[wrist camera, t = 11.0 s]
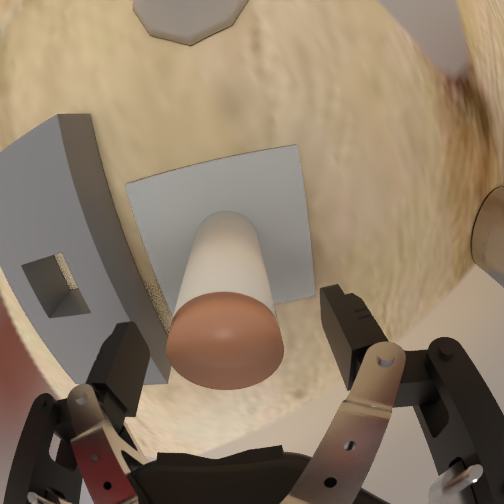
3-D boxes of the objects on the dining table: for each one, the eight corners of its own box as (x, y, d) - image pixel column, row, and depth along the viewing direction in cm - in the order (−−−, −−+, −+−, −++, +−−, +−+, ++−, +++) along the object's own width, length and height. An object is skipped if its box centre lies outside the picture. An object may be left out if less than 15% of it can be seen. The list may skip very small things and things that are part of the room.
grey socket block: (90, 113, 14) (57, 114, 10) (174, 348, 23) (167, 383, 19) (2, 165, 14) (-30, 177, 10) (88, 355, 23) (75, 384, 19)
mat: (295, 144, 16) (297, 145, 15) (313, 291, 21) (315, 295, 20) (127, 183, 16) (124, 185, 16) (176, 317, 21) (175, 321, 20)
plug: (250, 204, 17) (274, 298, 8) (262, 260, 19) (289, 379, 10) (188, 218, 17) (147, 321, 8) (204, 272, 19) (189, 394, 10)
